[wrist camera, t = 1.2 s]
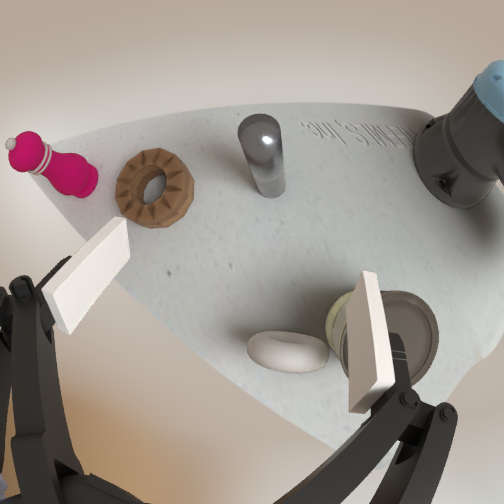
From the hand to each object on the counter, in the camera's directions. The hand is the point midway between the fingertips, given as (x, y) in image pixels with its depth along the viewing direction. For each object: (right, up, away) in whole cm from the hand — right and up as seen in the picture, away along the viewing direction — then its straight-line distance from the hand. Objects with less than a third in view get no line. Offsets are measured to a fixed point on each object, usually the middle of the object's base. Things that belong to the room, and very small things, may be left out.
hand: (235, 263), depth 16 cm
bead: (-13, +10, +28) cm, 33 cm away
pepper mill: (-29, +13, +31) cm, 45 cm away
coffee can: (+16, -10, +23) cm, 29 cm away
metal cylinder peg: (+4, +10, +26) cm, 28 cm away
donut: (+6, -12, +24) cm, 27 cm away
